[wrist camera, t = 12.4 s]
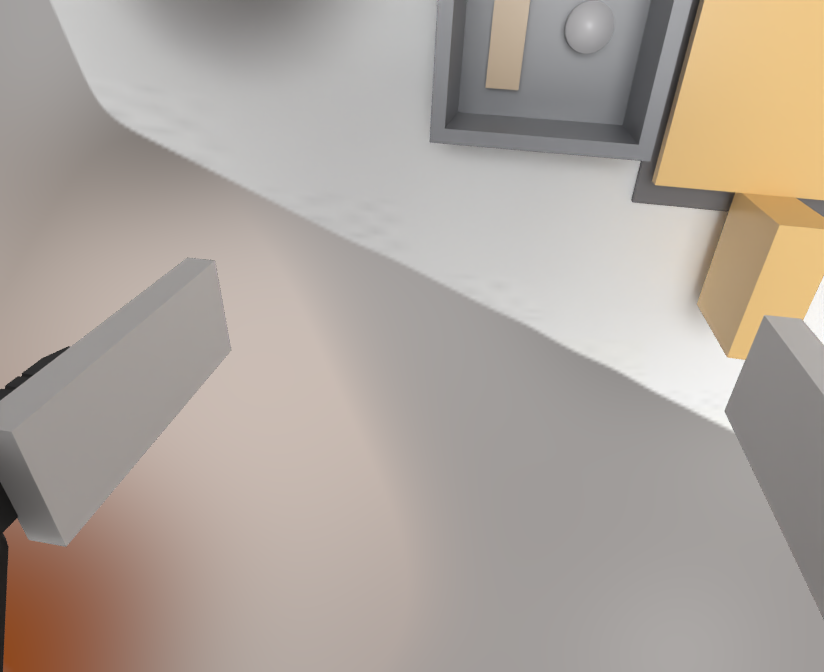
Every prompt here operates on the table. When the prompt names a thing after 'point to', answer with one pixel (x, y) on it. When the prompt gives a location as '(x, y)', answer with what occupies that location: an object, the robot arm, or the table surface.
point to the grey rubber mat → (644, 185)
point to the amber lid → (753, 156)
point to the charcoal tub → (555, 74)
